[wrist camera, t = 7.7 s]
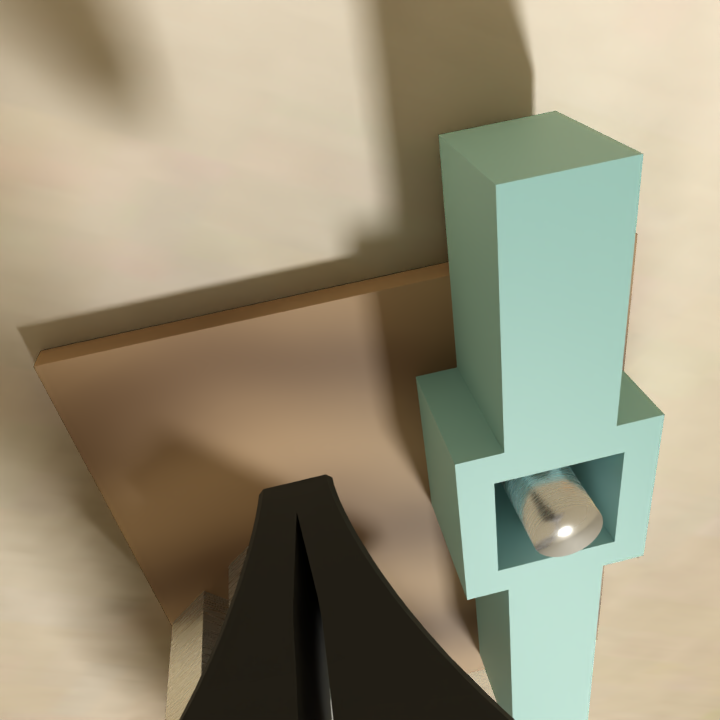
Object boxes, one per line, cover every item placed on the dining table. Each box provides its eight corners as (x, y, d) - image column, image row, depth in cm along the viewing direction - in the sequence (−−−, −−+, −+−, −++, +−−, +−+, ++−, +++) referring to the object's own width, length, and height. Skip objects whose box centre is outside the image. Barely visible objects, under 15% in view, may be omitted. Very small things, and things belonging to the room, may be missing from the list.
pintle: (525, 428, 22) (600, 546, 18) (471, 441, 22) (532, 564, 18) (525, 382, 21) (605, 497, 17) (468, 395, 21) (532, 515, 17)
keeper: (262, 531, 22) (272, 681, 17) (425, 603, 26) (467, 741, 21) (172, 622, 24) (160, 781, 19) (337, 677, 27) (359, 820, 23)
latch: (572, 630, 28) (618, 719, 25) (451, 661, 28) (481, 757, 25) (605, 100, 16) (705, 140, 13) (386, 145, 16) (430, 198, 12)
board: (588, 624, 30) (597, 639, 29) (229, 717, 29) (230, 735, 28) (622, 223, 19) (637, 233, 18) (40, 350, 18) (33, 366, 17)
